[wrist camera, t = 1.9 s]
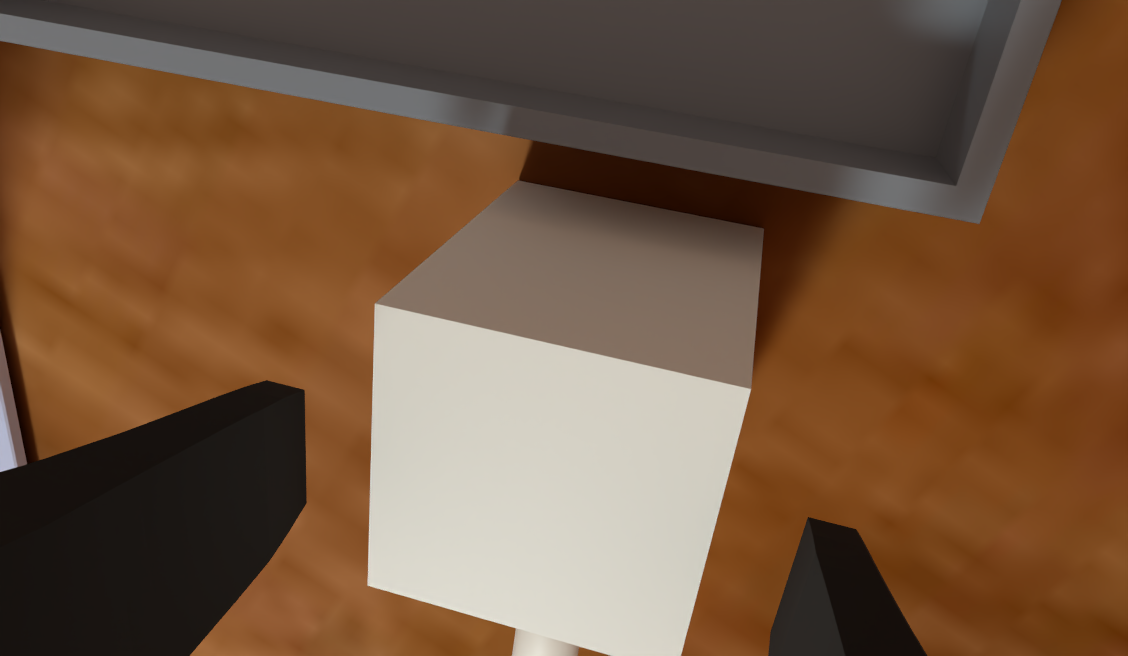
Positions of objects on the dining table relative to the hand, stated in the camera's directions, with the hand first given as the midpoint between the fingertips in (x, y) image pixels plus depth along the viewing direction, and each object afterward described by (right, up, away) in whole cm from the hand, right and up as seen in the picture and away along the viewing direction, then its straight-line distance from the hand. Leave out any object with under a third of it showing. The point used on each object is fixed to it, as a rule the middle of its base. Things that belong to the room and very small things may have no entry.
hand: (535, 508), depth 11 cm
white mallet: (+1, -1, +8) cm, 8 cm away
